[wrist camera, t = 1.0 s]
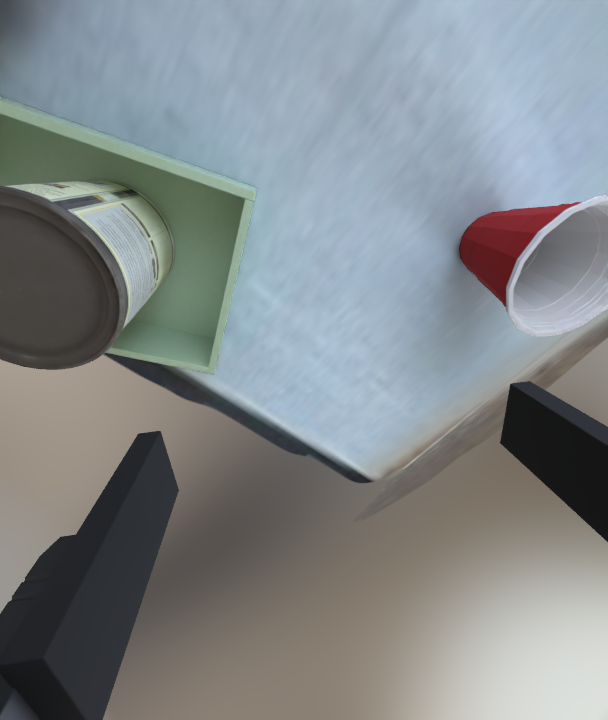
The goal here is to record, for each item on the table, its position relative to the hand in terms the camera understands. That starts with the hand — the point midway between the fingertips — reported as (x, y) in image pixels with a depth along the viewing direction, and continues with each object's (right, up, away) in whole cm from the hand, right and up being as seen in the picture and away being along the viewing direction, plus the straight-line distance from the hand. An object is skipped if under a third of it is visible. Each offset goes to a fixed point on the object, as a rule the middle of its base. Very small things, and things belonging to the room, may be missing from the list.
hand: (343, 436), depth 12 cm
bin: (-19, +14, +18) cm, 29 cm away
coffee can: (-19, +14, +18) cm, 29 cm away
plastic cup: (+18, +15, +22) cm, 32 cm away
